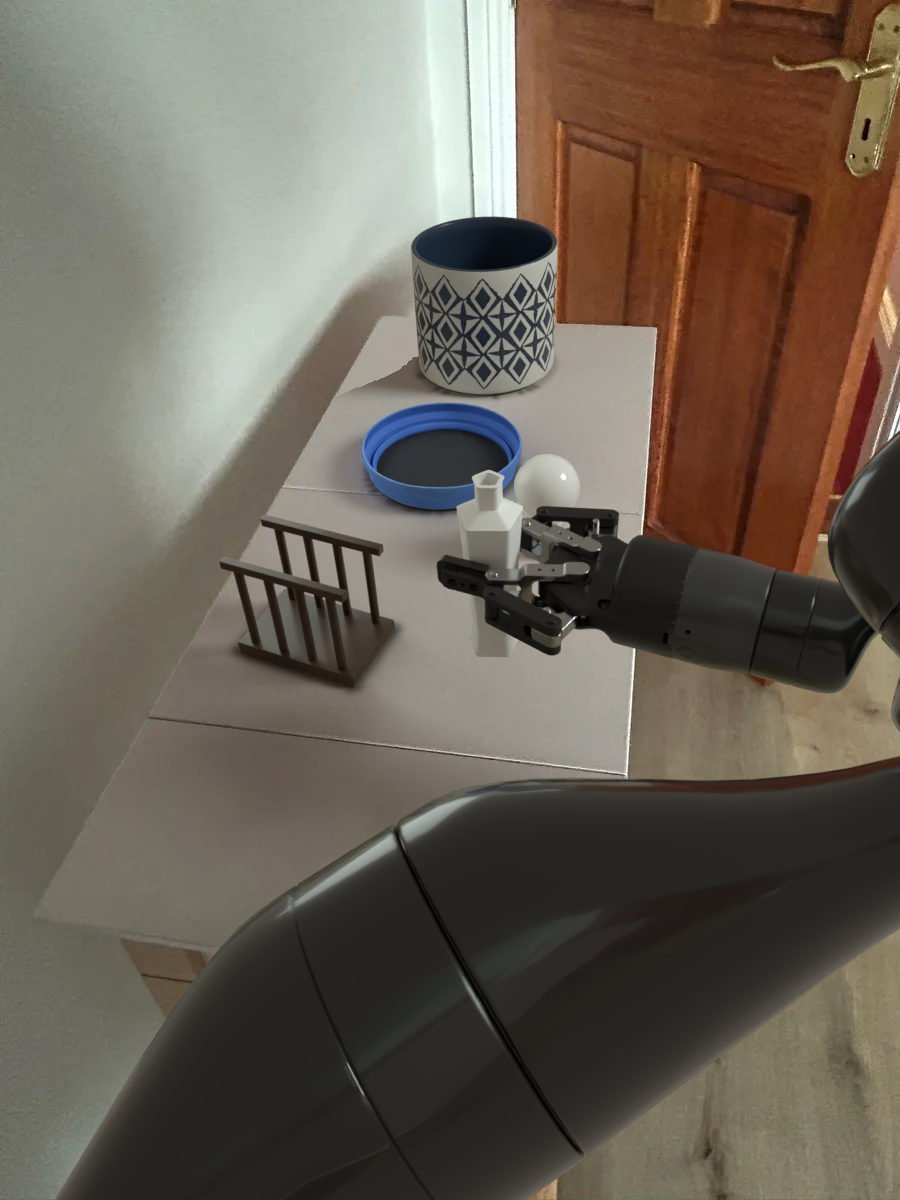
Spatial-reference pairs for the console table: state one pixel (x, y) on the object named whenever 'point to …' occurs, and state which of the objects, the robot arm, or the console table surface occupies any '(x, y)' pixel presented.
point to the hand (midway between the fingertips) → (455, 547)
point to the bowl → (439, 453)
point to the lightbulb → (546, 484)
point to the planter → (485, 303)
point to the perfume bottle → (490, 552)
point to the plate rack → (313, 609)
